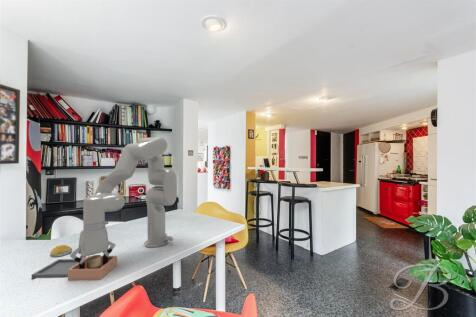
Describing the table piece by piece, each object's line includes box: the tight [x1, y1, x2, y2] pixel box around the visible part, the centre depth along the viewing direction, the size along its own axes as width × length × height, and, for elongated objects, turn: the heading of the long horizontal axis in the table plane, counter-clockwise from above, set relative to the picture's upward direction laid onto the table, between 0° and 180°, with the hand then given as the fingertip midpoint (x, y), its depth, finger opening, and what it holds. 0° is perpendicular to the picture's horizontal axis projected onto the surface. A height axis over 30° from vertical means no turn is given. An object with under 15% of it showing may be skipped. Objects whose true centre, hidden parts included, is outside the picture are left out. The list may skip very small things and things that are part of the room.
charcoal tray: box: [31, 258, 79, 280], centre depth 97 cm, size 14×14×2 cm
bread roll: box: [50, 244, 73, 258], centre depth 114 cm, size 8×9×4 cm
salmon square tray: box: [67, 255, 118, 281], centre depth 94 cm, size 13×13×4 cm
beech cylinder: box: [87, 254, 102, 269], centre depth 94 cm, size 5×5×6 cm
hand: (94, 268), depth 94 cm, fingers open, 7 cm apart
